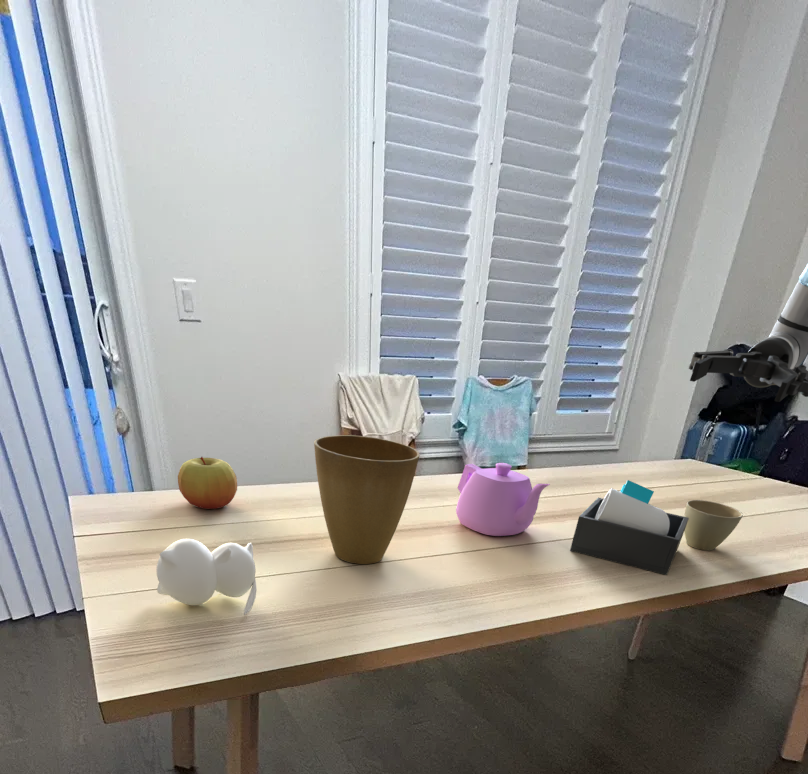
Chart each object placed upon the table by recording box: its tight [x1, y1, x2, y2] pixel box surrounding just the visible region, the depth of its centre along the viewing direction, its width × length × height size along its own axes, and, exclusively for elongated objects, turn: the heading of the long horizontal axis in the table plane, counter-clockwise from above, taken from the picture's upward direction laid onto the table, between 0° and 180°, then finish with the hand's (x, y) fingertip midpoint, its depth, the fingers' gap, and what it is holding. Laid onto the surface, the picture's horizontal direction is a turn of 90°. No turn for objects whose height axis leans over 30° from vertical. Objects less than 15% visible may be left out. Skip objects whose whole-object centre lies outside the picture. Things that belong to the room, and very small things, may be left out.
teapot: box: [455, 462, 551, 537], centre depth 113 cm, size 13×20×11 cm
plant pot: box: [313, 434, 421, 565], centre depth 94 cm, size 15×15×16 cm
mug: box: [594, 479, 670, 536], centre depth 111 cm, size 12×9×12 cm
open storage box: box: [569, 497, 689, 576], centre depth 112 cm, size 17×16×6 cm
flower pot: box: [683, 499, 744, 551], centre depth 119 cm, size 10×10×7 cm
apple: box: [177, 456, 238, 510], centre depth 108 cm, size 10×10×8 cm
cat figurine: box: [156, 538, 258, 617], centre depth 77 cm, size 9×11×12 cm
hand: (736, 382), depth 101 cm, fingers open, 13 cm apart
